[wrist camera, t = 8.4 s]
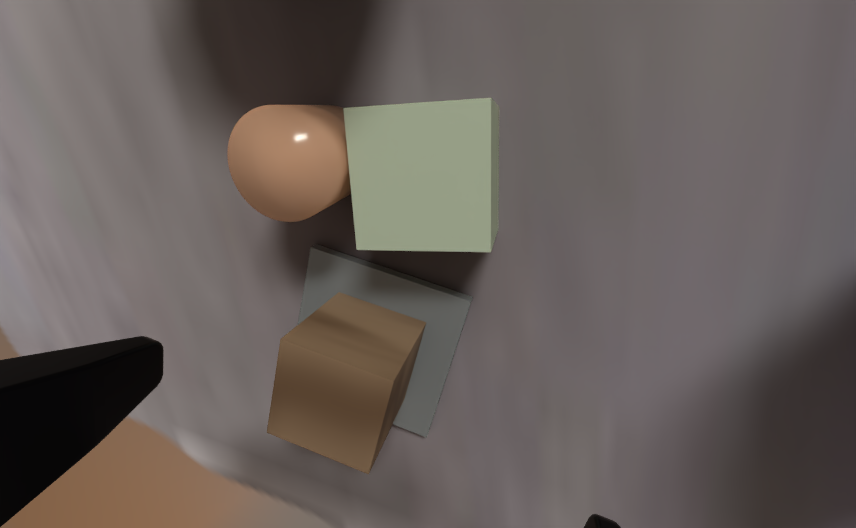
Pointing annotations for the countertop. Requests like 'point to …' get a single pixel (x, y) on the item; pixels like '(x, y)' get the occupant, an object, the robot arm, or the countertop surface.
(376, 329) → the walnut block
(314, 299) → the slate coaster
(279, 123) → the dome-topped tan cylinder
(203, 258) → the countertop surface
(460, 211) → the sage block
